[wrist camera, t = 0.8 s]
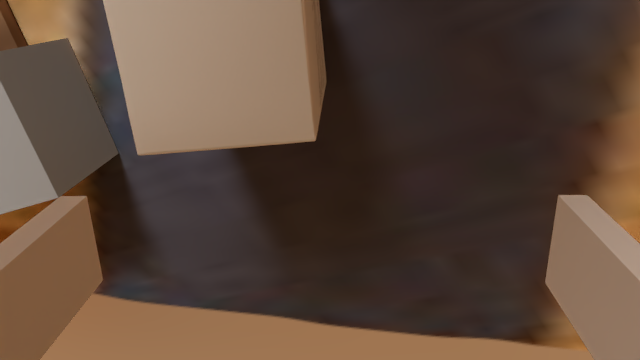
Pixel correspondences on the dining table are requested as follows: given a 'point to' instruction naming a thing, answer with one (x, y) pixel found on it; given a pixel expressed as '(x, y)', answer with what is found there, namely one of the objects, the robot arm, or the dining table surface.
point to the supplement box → (219, 72)
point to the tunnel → (47, 125)
